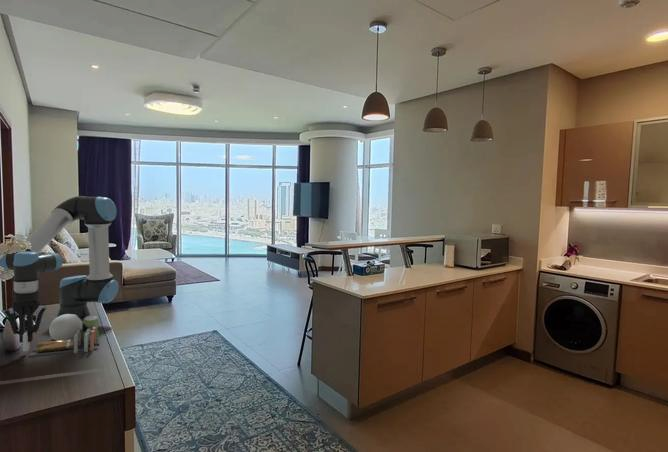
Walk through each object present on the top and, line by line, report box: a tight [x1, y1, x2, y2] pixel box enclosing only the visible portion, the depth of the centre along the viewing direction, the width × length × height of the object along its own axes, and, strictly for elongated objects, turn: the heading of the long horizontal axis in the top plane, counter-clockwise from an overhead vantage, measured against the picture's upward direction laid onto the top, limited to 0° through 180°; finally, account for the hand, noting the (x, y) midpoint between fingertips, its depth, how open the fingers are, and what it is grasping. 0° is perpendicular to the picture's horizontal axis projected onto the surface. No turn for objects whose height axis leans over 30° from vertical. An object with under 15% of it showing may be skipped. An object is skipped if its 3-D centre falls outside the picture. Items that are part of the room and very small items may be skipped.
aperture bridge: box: [90, 327, 97, 352], centre depth 158 cm, size 8×1×8 cm, turn 26°
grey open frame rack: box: [27, 342, 101, 359], centre depth 154 cm, size 9×23×2 cm, turn 116°
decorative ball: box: [48, 314, 83, 341], centre depth 166 cm, size 12×12×12 cm
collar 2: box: [83, 328, 91, 353], centre depth 157 cm, size 9×1×7 cm, turn 26°
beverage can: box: [81, 314, 100, 343], centre depth 165 cm, size 6×7×12 cm
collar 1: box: [73, 329, 82, 354], centre depth 155 cm, size 9×1×7 cm, turn 26°
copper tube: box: [35, 339, 74, 353], centre depth 153 cm, size 12×4×4 cm, turn 116°
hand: (26, 349), depth 148 cm, fingers closed
